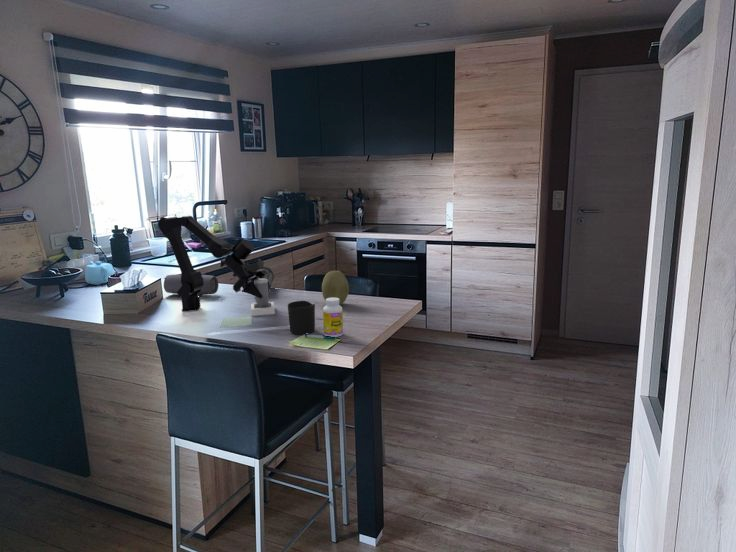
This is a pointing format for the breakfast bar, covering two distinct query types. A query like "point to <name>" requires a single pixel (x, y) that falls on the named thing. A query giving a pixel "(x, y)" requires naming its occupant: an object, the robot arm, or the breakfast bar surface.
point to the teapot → (98, 272)
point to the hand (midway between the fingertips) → (265, 295)
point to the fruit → (335, 286)
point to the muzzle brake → (268, 276)
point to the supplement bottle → (333, 318)
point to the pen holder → (301, 317)
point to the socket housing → (262, 309)
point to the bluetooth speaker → (174, 284)
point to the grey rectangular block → (263, 289)
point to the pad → (236, 322)
